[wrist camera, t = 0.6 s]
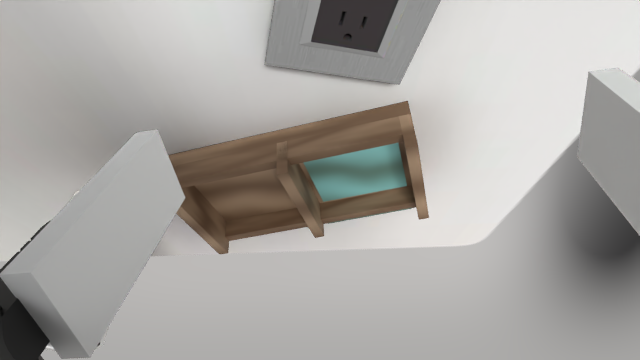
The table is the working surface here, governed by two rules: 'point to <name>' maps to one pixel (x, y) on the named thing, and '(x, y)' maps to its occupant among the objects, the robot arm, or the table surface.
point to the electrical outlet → (349, 36)
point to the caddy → (303, 177)
